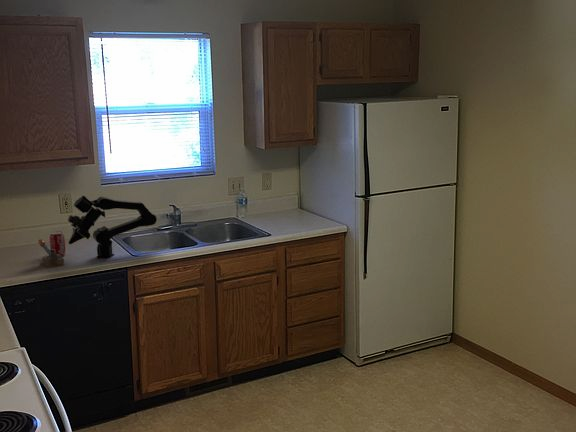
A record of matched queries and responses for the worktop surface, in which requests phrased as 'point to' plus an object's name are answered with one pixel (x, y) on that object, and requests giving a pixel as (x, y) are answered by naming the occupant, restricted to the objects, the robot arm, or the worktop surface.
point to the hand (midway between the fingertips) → (69, 243)
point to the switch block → (53, 260)
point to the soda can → (57, 242)
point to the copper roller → (44, 247)
